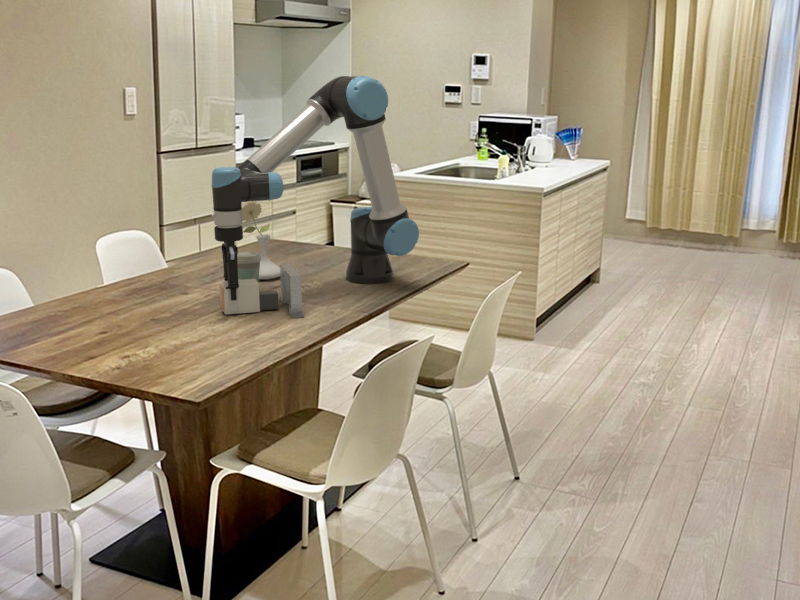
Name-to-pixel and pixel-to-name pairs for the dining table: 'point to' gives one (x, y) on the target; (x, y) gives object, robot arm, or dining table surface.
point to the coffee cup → (248, 265)
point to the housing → (291, 289)
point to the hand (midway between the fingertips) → (232, 307)
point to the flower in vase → (260, 241)
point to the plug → (249, 297)
